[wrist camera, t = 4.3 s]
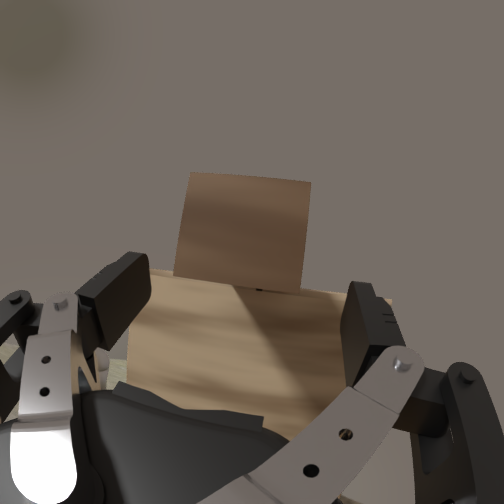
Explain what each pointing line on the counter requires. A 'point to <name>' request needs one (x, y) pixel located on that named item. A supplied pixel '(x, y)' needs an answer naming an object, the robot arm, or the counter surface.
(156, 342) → the wooden block
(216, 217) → the brown wooden bar
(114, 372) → the counter surface
